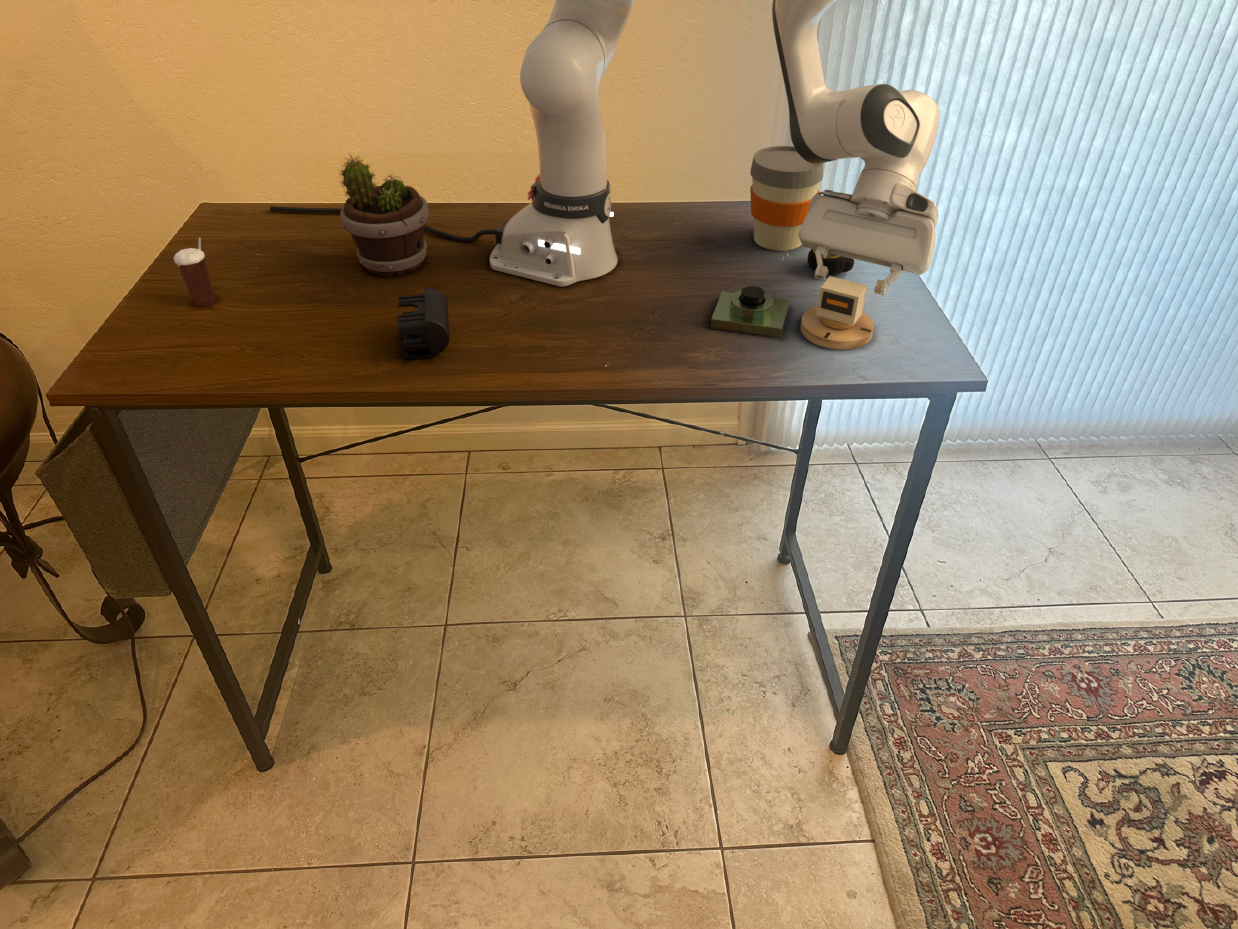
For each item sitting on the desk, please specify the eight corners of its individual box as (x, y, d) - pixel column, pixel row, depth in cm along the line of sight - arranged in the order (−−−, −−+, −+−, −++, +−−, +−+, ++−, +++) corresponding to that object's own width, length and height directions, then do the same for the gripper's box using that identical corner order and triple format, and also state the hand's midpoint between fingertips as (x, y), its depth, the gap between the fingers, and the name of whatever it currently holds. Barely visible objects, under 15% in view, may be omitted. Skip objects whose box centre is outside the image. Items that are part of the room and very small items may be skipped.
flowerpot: (441, 242, 158) (424, 132, 145) (429, 283, 146) (410, 167, 133) (361, 244, 157) (337, 134, 144) (344, 285, 146) (316, 169, 133)
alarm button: (738, 305, 134) (739, 295, 133) (742, 294, 136) (743, 284, 135) (761, 308, 133) (762, 298, 132) (765, 297, 136) (766, 287, 134)
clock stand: (858, 357, 128) (860, 348, 127) (789, 337, 132) (790, 328, 131) (881, 323, 135) (883, 314, 134) (815, 305, 140) (816, 297, 139)
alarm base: (710, 328, 135) (711, 308, 132) (721, 300, 141) (722, 281, 139) (780, 338, 132) (783, 318, 130) (788, 309, 139) (791, 289, 137)
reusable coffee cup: (775, 261, 151) (785, 178, 141) (730, 235, 159) (736, 154, 149) (827, 243, 156) (840, 162, 147) (781, 218, 164) (791, 140, 155)
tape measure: (853, 276, 147) (857, 256, 145) (817, 282, 145) (821, 262, 143) (834, 258, 152) (837, 238, 150) (799, 264, 150) (802, 244, 148)
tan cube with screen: (851, 333, 130) (858, 298, 126) (813, 322, 132) (819, 288, 128) (862, 318, 133) (868, 284, 129) (825, 308, 135) (830, 274, 132)
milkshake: (229, 295, 143) (210, 240, 137) (205, 310, 140) (184, 254, 133) (209, 290, 145) (189, 234, 138) (184, 305, 141) (163, 248, 135)
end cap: (452, 357, 129) (446, 318, 124) (404, 362, 128) (396, 323, 123) (450, 323, 136) (444, 285, 132) (405, 327, 135) (397, 289, 131)
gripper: (813, 178, 132) (781, 262, 132) (947, 206, 124) (913, 295, 124) (819, 195, 138) (788, 276, 138) (947, 223, 130) (915, 308, 130)
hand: (848, 285), depth 131 cm, fingers open, 8 cm apart
